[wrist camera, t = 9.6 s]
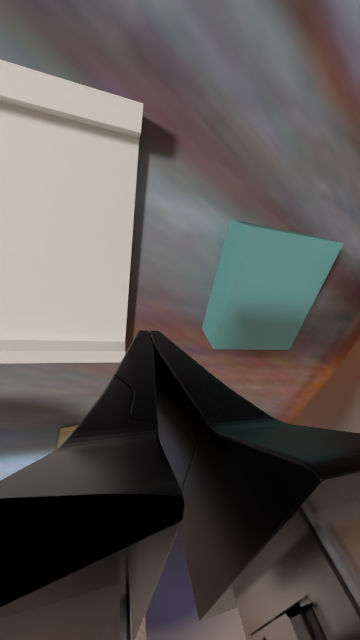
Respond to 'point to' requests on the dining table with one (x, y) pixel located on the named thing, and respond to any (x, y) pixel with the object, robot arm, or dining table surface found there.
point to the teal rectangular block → (265, 286)
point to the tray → (64, 218)
